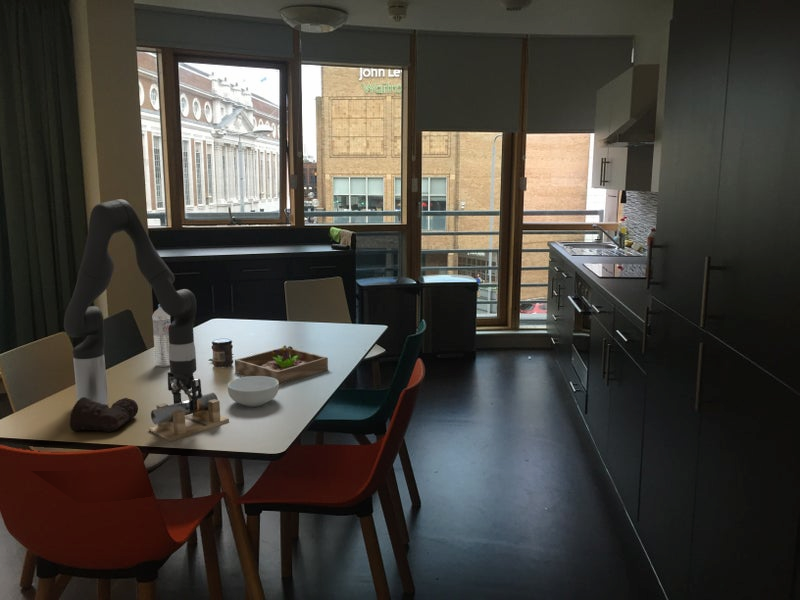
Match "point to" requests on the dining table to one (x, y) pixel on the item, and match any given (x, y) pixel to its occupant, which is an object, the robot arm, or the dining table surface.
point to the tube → (167, 411)
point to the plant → (283, 360)
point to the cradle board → (190, 422)
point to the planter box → (255, 362)
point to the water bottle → (161, 337)
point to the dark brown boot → (101, 415)
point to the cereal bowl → (253, 390)
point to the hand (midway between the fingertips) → (185, 408)
